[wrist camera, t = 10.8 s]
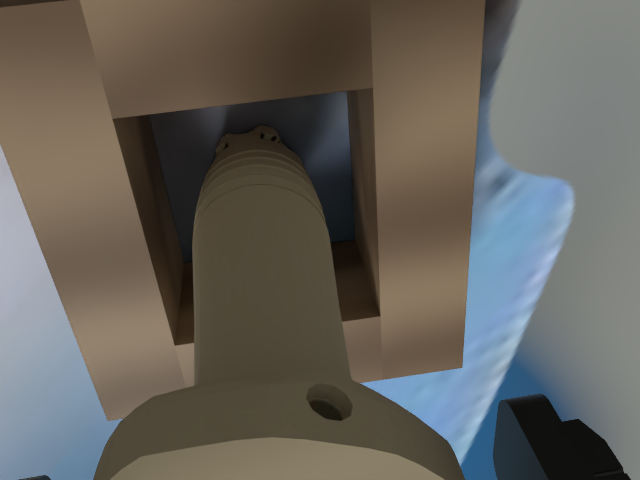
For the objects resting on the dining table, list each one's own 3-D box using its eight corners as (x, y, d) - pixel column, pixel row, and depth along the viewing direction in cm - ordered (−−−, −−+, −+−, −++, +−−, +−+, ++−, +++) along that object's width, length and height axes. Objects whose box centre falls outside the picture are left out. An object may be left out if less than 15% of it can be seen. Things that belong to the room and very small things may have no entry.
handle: (183, 75, 21) (111, 412, 8) (357, 127, 22) (522, 470, 10) (154, 196, 23) (61, 610, 10) (314, 235, 25) (403, 628, 12)
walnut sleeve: (13, -22, 19) (-51, 12, 14) (432, -65, 19) (488, -45, 15) (127, 330, 26) (107, 420, 22) (425, 288, 27) (462, 367, 23)
